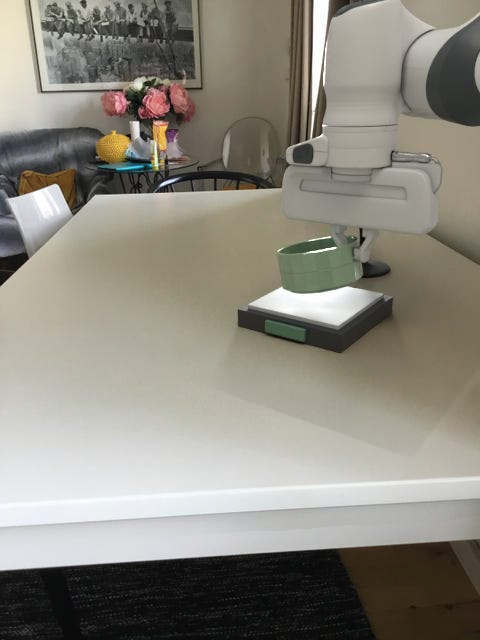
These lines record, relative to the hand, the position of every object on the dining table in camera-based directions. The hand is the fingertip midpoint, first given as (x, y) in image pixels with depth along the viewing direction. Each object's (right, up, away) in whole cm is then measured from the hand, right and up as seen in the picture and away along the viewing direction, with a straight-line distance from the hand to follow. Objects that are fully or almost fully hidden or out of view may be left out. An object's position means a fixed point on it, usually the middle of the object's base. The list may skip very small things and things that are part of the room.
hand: (352, 259), depth 74 cm
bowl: (-3, -3, +4) cm, 6 cm away
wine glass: (+7, +1, +28) cm, 29 cm away
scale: (-4, -8, +7) cm, 11 cm away
